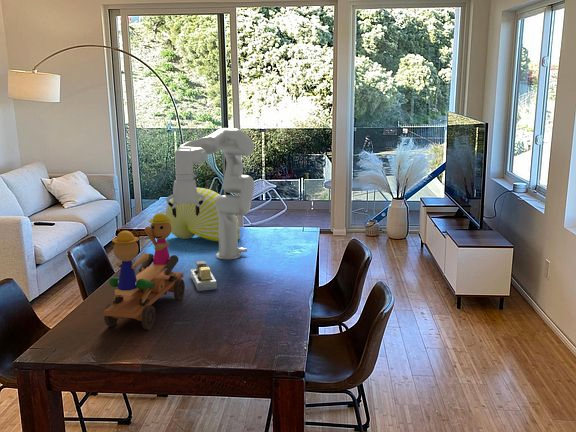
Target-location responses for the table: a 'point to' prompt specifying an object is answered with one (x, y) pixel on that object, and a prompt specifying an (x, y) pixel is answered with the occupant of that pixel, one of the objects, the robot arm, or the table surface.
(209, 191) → the shell
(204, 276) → the brass block
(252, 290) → the table surface
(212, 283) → the grey block holder tray
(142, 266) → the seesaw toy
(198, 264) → the seated steel block
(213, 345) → the table surface
